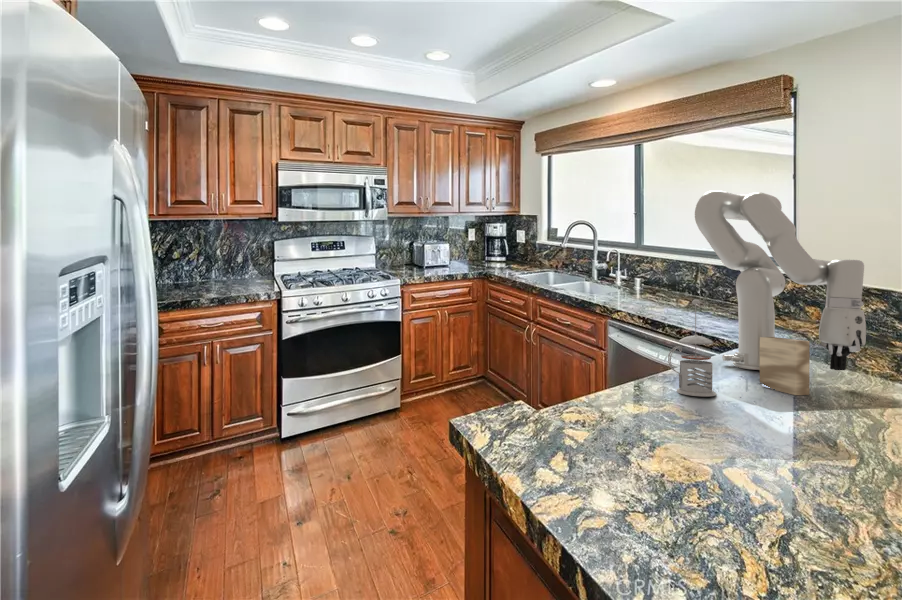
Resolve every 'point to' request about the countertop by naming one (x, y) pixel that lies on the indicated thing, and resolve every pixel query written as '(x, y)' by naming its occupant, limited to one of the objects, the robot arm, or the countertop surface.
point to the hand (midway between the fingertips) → (837, 369)
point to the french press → (688, 385)
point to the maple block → (785, 364)
